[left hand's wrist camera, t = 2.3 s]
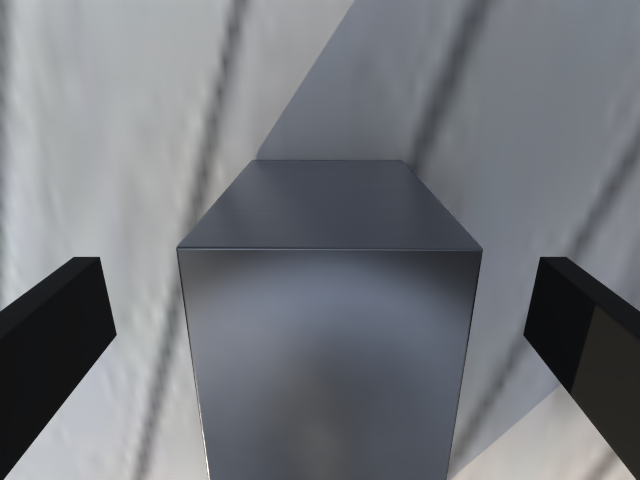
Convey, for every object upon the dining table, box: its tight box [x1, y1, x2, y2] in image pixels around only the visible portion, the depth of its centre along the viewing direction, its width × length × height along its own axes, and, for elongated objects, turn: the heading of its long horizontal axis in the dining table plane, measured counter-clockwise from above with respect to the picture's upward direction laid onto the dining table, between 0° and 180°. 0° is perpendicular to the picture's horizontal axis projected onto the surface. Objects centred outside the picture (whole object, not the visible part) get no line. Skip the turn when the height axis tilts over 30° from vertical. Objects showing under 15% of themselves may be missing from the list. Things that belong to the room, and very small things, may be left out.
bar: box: [176, 160, 483, 480], centre depth 16 cm, size 23×6×9 cm, turn 0°
